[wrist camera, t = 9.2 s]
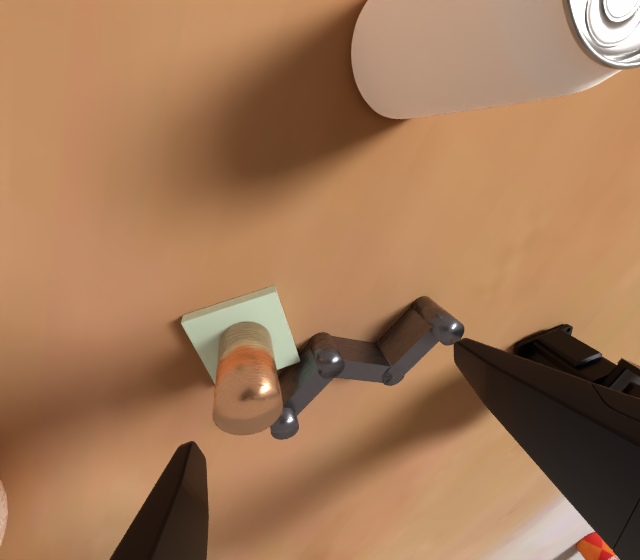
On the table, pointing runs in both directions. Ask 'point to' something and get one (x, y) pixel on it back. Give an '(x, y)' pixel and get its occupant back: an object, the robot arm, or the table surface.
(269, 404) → the cylinder
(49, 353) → the table surface
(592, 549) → the paper cup
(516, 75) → the can
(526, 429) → the robot arm
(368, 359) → the dark grey zigzag bar
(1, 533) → the lidded bowl
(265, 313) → the pad
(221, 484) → the table surface
